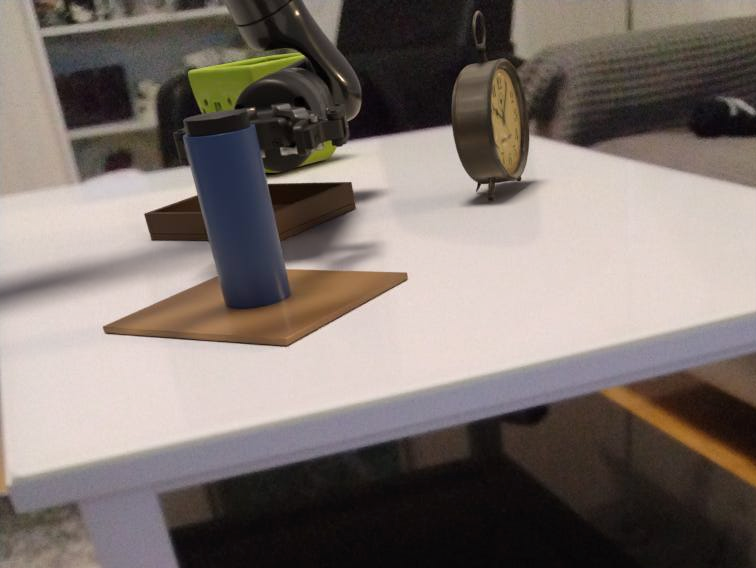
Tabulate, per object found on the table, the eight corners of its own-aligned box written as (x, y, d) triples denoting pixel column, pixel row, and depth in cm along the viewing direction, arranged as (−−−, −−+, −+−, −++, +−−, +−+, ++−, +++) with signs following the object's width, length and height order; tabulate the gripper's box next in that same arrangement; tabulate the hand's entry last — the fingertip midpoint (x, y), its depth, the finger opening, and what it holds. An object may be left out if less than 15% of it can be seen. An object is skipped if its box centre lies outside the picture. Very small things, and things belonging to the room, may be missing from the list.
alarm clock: (502, 203, 101) (483, 13, 92) (452, 206, 103) (429, 19, 94) (536, 179, 109) (522, 2, 100) (489, 182, 111) (471, 8, 102)
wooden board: (104, 332, 79) (102, 326, 79) (237, 273, 90) (235, 267, 90) (286, 346, 71) (285, 338, 70) (408, 278, 82) (407, 272, 81)
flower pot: (353, 156, 137) (335, 48, 130) (273, 180, 129) (248, 65, 122) (287, 154, 145) (266, 52, 138) (208, 176, 137) (181, 69, 130)
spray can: (218, 299, 81) (172, 118, 74) (280, 284, 83) (241, 106, 76) (234, 313, 77) (186, 124, 70) (299, 297, 79) (259, 111, 72)
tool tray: (151, 239, 107) (143, 213, 105) (232, 208, 116) (226, 184, 114) (279, 241, 99) (273, 213, 97) (356, 208, 108) (351, 181, 106)
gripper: (197, 83, 93) (146, 107, 79) (351, 63, 92) (325, 83, 78) (218, 172, 97) (173, 208, 84) (366, 154, 96) (344, 188, 83)
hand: (247, 148), depth 81 cm, fingers open, 8 cm apart
